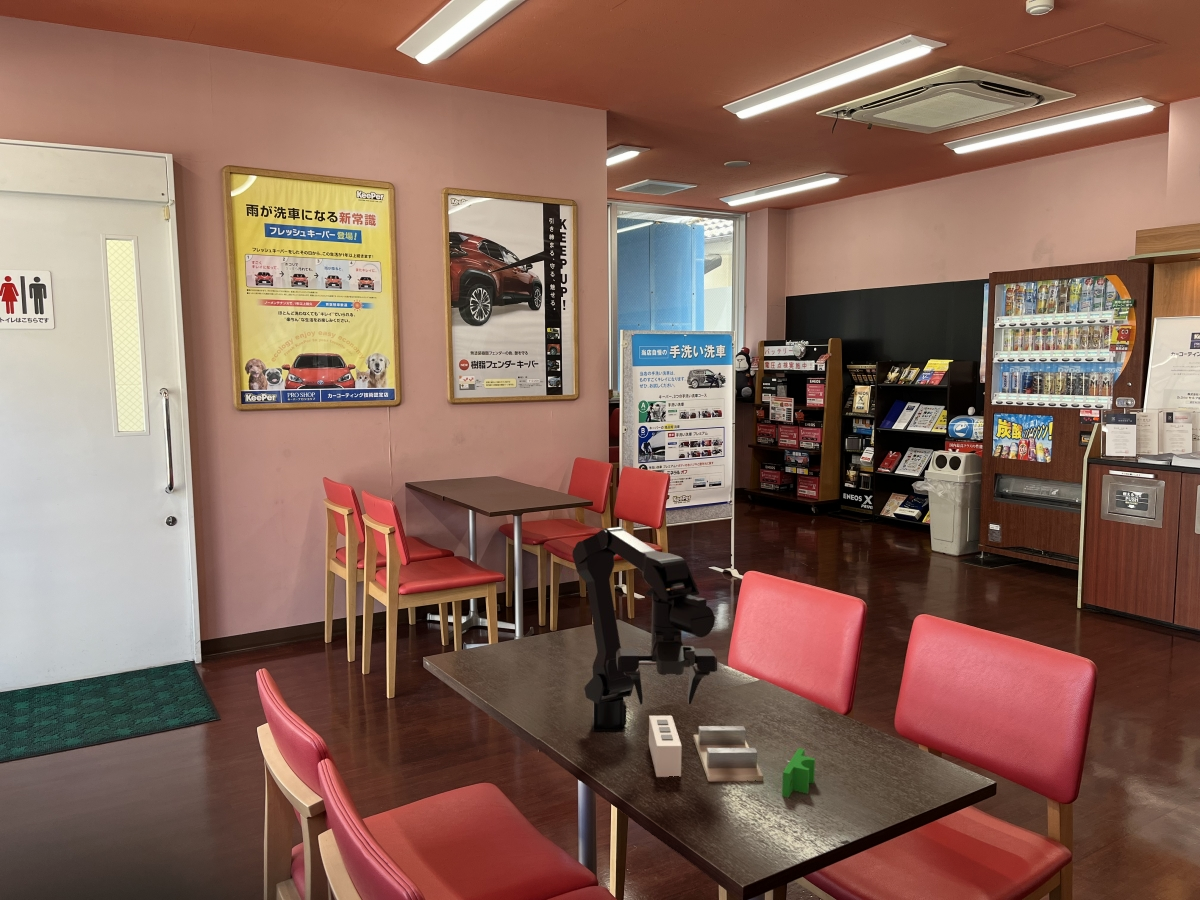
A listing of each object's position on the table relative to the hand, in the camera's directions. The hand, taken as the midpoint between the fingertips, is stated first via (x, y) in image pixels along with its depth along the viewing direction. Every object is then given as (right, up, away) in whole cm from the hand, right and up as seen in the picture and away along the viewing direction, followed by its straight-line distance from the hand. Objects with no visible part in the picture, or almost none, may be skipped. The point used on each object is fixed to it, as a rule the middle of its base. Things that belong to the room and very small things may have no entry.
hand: (665, 703), depth 160 cm
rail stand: (+12, -11, +1) cm, 16 cm away
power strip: (0, -11, +1) cm, 11 cm away
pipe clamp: (+24, -12, -9) cm, 28 cm away
